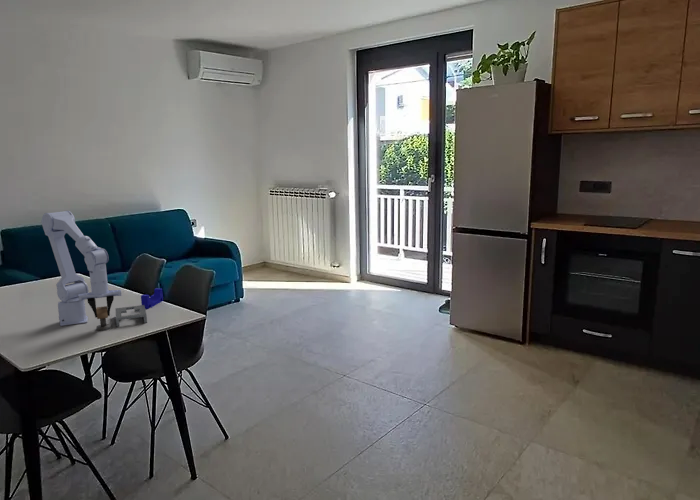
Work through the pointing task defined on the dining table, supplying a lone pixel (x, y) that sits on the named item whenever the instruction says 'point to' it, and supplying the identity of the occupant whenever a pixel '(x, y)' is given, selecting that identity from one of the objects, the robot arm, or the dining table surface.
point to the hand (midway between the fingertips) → (102, 315)
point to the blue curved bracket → (152, 298)
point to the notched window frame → (136, 308)
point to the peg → (102, 318)
